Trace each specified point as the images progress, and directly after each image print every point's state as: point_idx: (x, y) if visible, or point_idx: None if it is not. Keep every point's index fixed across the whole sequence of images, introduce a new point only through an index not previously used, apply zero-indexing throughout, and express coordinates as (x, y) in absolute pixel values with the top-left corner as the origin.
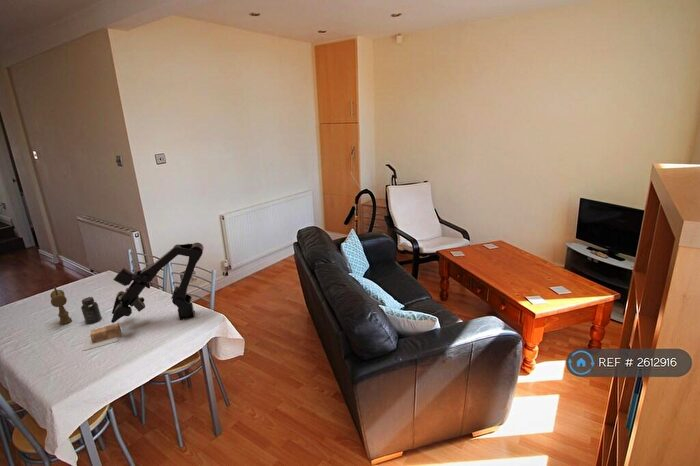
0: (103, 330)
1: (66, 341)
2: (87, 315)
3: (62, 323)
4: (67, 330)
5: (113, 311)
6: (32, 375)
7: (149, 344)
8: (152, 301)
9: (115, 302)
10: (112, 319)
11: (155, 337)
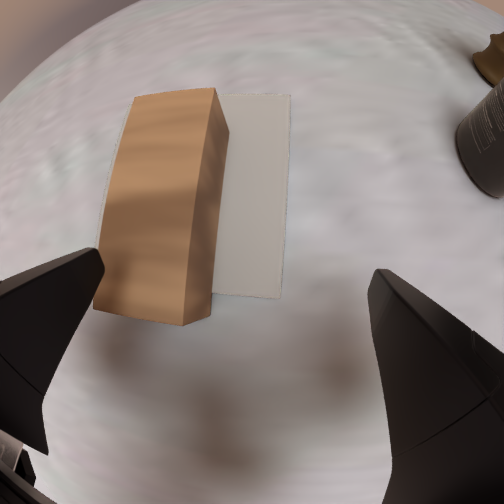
0: (124, 179)
1: (304, 36)
2: (486, 101)
3: (474, 56)
4: (421, 54)
5: (383, 297)
6: (117, 18)
7: None
8: None
9: (487, 411)
10: (50, 265)
11: (50, 434)
